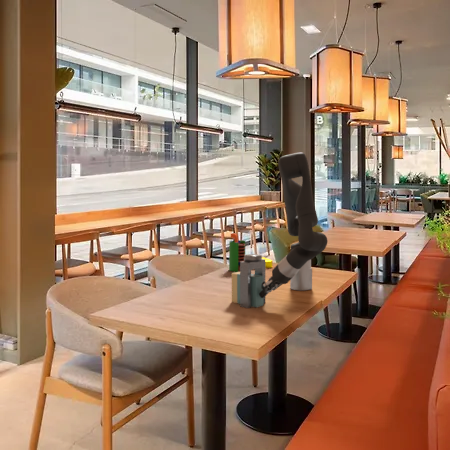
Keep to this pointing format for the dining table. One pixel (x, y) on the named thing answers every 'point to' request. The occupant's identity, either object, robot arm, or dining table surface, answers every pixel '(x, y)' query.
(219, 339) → the dining table surface
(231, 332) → the dining table surface
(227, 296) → the dining table surface
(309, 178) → the robot arm
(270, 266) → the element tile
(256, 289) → the sage green rectangular prism
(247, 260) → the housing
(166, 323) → the dining table surface
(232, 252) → the motor
